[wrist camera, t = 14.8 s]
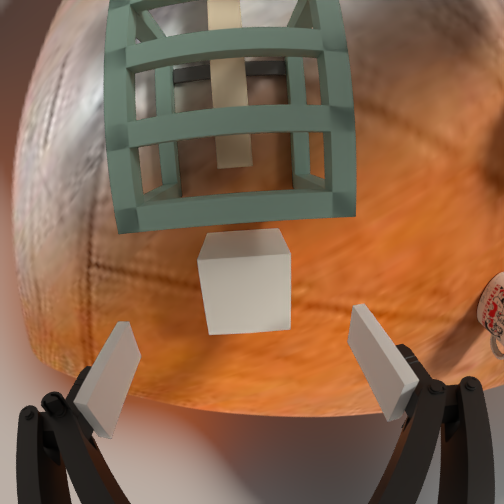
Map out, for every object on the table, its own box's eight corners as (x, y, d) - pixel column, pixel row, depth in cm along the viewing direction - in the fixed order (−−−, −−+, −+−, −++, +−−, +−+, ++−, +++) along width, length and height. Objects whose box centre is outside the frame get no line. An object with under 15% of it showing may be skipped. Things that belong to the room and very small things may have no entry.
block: (207, 232, 23) (197, 260, 18) (278, 227, 23) (290, 253, 18) (215, 295, 25) (209, 334, 20) (280, 290, 25) (290, 329, 20)
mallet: (200, -46, 13) (186, -109, 4) (242, -50, 13) (244, -114, 4) (209, 168, 21) (184, 177, 11) (261, 164, 21) (279, 169, 11)
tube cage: (158, 48, 17) (110, -5, 8) (296, 37, 17) (333, -24, 8) (168, 197, 22) (118, 234, 12) (306, 187, 22) (355, 216, 12)
